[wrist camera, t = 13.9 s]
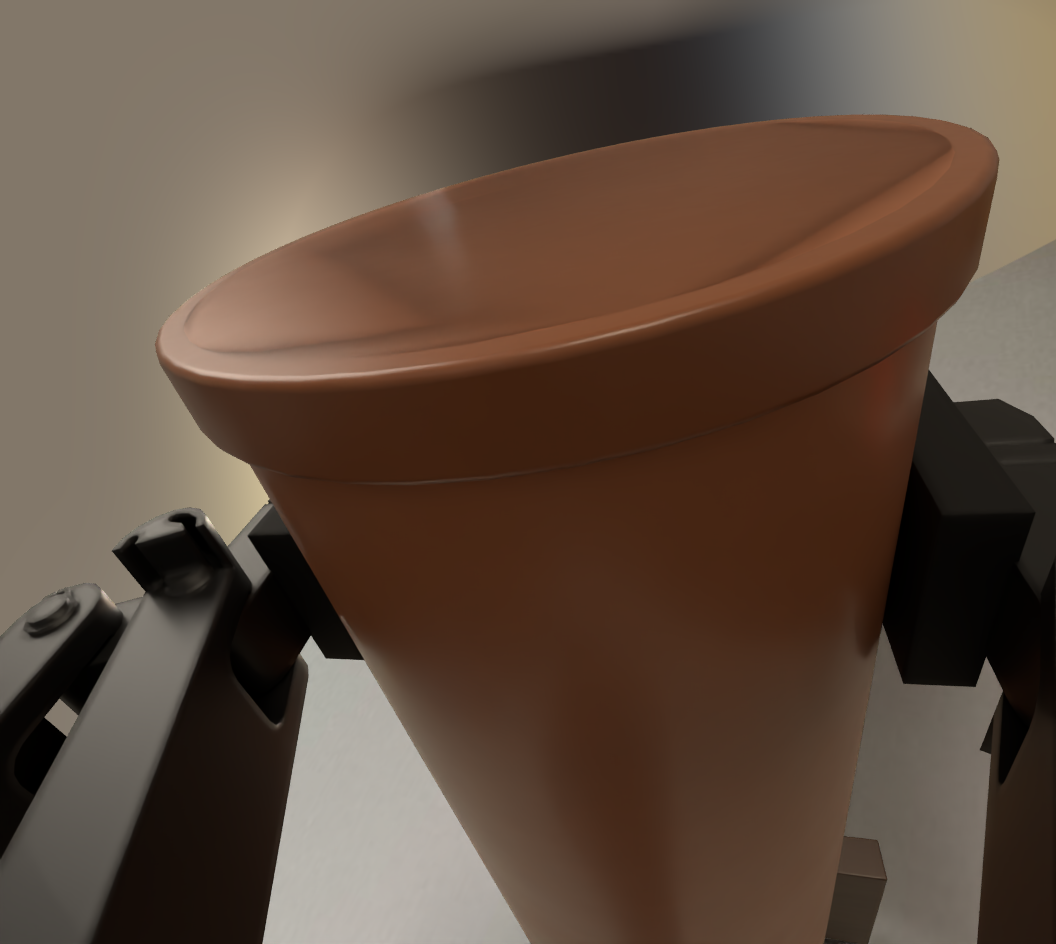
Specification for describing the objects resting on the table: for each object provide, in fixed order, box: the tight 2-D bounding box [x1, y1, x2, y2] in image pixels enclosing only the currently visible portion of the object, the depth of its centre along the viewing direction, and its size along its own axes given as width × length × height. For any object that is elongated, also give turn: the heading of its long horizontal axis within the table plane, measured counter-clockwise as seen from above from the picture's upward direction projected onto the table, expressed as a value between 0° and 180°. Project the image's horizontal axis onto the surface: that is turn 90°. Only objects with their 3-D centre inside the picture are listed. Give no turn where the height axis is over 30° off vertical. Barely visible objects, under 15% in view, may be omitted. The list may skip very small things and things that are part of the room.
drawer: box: [825, 836, 887, 944], centre depth 26 cm, size 20×12×6 cm, turn 167°
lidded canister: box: [155, 115, 999, 944], centre depth 10 cm, size 8×8×15 cm
